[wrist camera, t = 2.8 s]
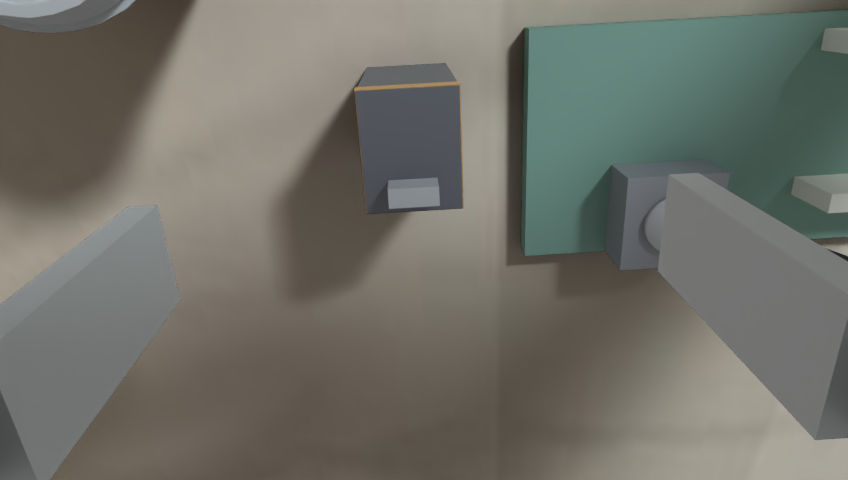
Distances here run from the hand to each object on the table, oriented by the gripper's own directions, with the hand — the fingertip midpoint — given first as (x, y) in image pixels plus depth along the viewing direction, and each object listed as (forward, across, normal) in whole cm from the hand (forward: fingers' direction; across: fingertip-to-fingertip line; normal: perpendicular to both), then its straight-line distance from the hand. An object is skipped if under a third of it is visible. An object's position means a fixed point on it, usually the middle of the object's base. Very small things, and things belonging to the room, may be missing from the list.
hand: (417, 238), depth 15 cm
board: (+17, +17, -2) cm, 24 cm away
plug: (+17, 0, 0) cm, 17 cm away
